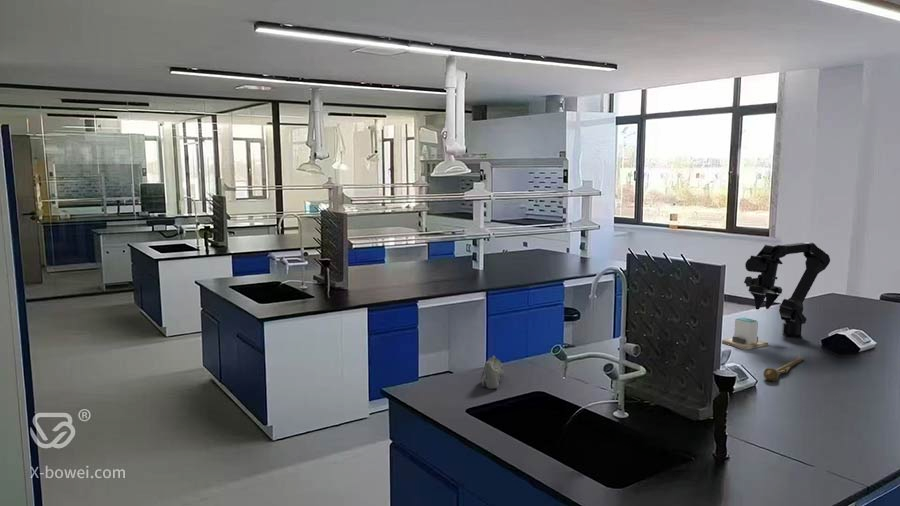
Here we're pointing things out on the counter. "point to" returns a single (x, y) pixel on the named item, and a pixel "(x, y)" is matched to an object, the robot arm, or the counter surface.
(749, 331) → the panel
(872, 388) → the counter surface
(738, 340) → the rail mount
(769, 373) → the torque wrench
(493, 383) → the mineral rock
